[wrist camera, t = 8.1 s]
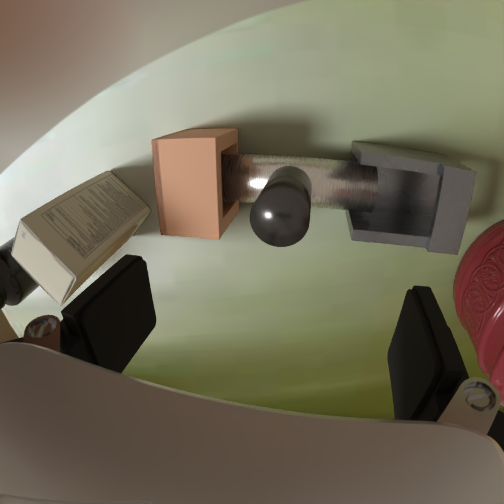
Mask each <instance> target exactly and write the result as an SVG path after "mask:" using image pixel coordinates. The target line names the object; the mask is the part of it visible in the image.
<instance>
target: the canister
mask: <svg viewBox="0 0 504 504" xmlns="http://www.w3.org/2000/svg"><path fill="white" fill-rule="evenodd" d="M453 296H454V302H455V308H456V312H457V315H458V317H459V319H460V322H461V324H462V326H463V327H464V328H465V330H466V331H467V333H468V335H469V337H470V339H471V341H472V344H473V346H474V348H475V351H476V353H477V358H478V363H479V366H480V368H481V370H482V371H483V373H484V374H486V375H487V376H488V377H490V383H491V384H492V385H493V386H494V387H495V388H496V389H497V391H498V393H499V395H500V401H501V402H500V405H501V406H504V221H501V222H499V223H496V224H495V225H493V226H491V227H490V228H488V229H487V230H485V231H484V232H483V233H482V234H481V235H480V236H479V237H478V238H477V239H476V240H475V241H474V242H473V243H472V244H471V246H470V247H469V248H468V250H467V251H466V253H465V254H464V256H463V258H462V260H461V262H460V264H459V266H458V269H457V272H456V275H455V280H454V286H453Z"/></svg>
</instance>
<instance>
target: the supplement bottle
mask: <svg viewBox="0 0 504 504" xmlns="http://www.w3.org/2000/svg"><path fill="white" fill-rule="evenodd" d="M14 238H15V237H14ZM14 238H12V239H11V240H9V241H8V242H6V243H5V244H3V245H2V246H0V309H2V308H3V307H4V306H5V304H7V305H10V306H14V305H18V304H19V303H20V302H22V301H23V300H24V299H25V298H26V297H27V296H28V295H29V294H31V293H32V292H33V291H34V290H35V289H36V288H37V287H39V285H38V284H37V282H36V281H35V280H34V279H33V278H32V277H31V276H30V275H29V274H28V273H27V272H26V271H25V270H24V269H23V268H22V266H21V265H20V264H19V263H18V262H17V261H16V260H15V258H14V257H13V256H12V254H11V252H12V247H13V242H14Z"/></svg>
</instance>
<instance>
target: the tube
mask: <svg viewBox="0 0 504 504" xmlns="http://www.w3.org/2000/svg"><path fill="white" fill-rule="evenodd" d="M221 177H222V201H232V202H249V203H254V205H253V206H252V209H251V212H250V223H251V226H252V229H253V231H254V233H255V234H256V235H257V236H258V238H260V239H261V240H262V241H263V242H265V243H267V244H269V245H272V246H277V247H286V246H290V245H293V244H295V243H297V242H298V241H300V240H301V239H302V238H303V237H304V236H305V234H306V232H307V230H308V227H309V222H310V209H311V207H318V208H329V209H340V210H350V211H360V212H370V213H372V212H373V210H374V208H375V204H376V199H377V192H378V171H377V166H369V165H360V163H359V162H355V161H345V160H335V159H323V158H310V157H296V156H278V155H255V154H221Z"/></svg>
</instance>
